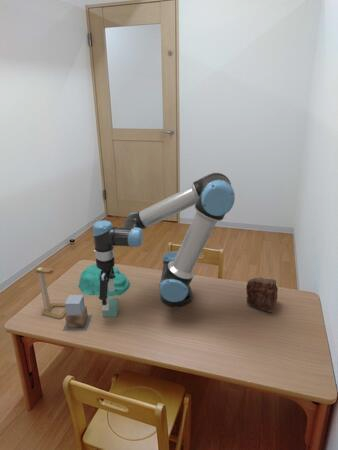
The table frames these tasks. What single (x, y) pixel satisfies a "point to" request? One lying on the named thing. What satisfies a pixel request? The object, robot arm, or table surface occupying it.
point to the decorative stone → (91, 281)
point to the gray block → (74, 305)
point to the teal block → (111, 308)
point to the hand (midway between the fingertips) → (108, 300)
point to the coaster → (79, 328)
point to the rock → (262, 293)
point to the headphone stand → (47, 304)
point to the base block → (77, 320)
